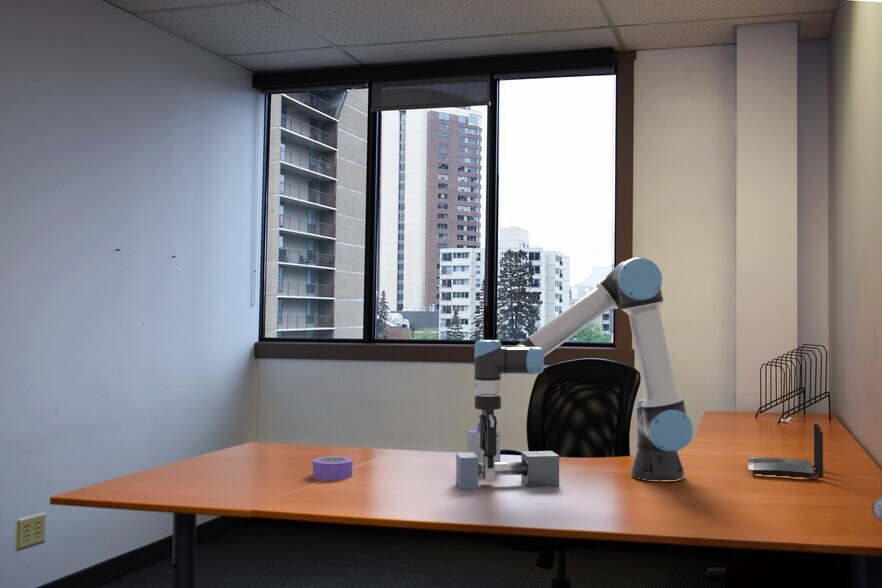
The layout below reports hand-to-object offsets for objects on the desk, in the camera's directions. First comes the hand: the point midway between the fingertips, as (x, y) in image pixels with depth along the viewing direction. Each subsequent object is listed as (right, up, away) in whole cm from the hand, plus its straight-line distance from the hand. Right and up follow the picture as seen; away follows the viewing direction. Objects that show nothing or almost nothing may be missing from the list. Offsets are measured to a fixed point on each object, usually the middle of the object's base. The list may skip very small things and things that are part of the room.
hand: (488, 477), depth 232 cm
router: (+90, -3, +17) cm, 92 cm away
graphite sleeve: (+15, -2, +2) cm, 15 cm away
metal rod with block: (+2, 0, 0) cm, 2 cm away
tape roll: (-46, -3, +13) cm, 48 cm away
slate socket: (-6, -2, -1) cm, 6 cm away
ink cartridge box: (0, -3, +20) cm, 20 cm away
